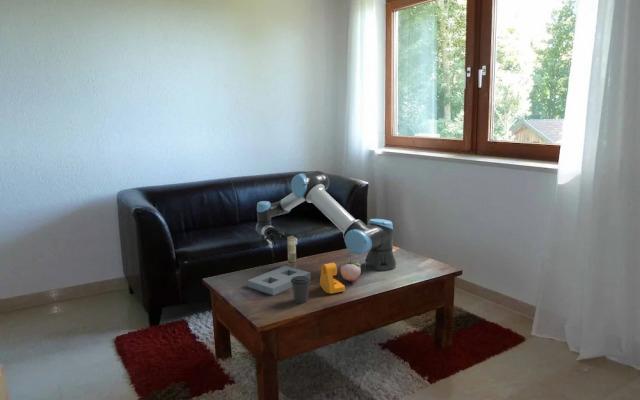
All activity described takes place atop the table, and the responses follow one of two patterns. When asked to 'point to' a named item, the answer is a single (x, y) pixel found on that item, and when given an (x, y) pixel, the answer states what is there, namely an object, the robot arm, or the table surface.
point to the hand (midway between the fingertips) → (284, 243)
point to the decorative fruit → (350, 270)
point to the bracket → (330, 279)
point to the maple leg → (291, 251)
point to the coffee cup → (300, 288)
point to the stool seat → (276, 280)
